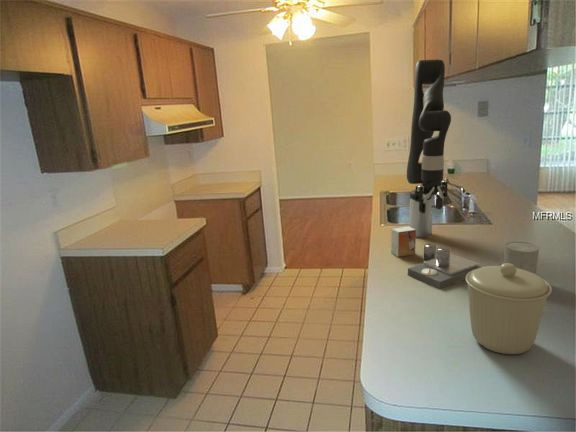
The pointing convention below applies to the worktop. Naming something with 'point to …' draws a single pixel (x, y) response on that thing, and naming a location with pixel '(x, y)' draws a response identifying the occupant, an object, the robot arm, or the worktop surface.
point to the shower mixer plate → (453, 265)
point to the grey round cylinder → (522, 255)
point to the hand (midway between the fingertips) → (430, 210)
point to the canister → (506, 307)
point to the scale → (437, 275)
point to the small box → (403, 241)
